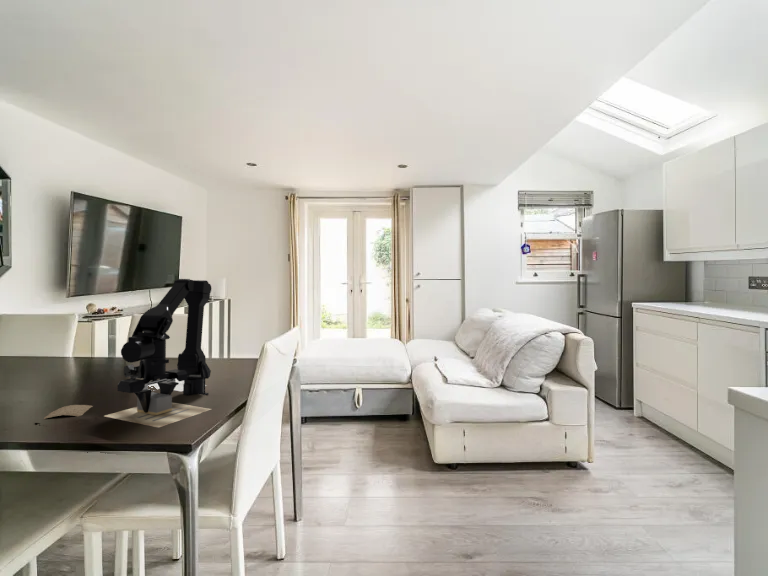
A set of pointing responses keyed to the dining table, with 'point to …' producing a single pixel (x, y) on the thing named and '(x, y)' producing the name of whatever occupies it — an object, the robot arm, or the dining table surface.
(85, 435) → the dining table surface
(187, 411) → the plywood board
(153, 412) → the block
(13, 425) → the dining table surface
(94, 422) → the dining table surface
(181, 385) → the paper sheet
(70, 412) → the clay tablet
